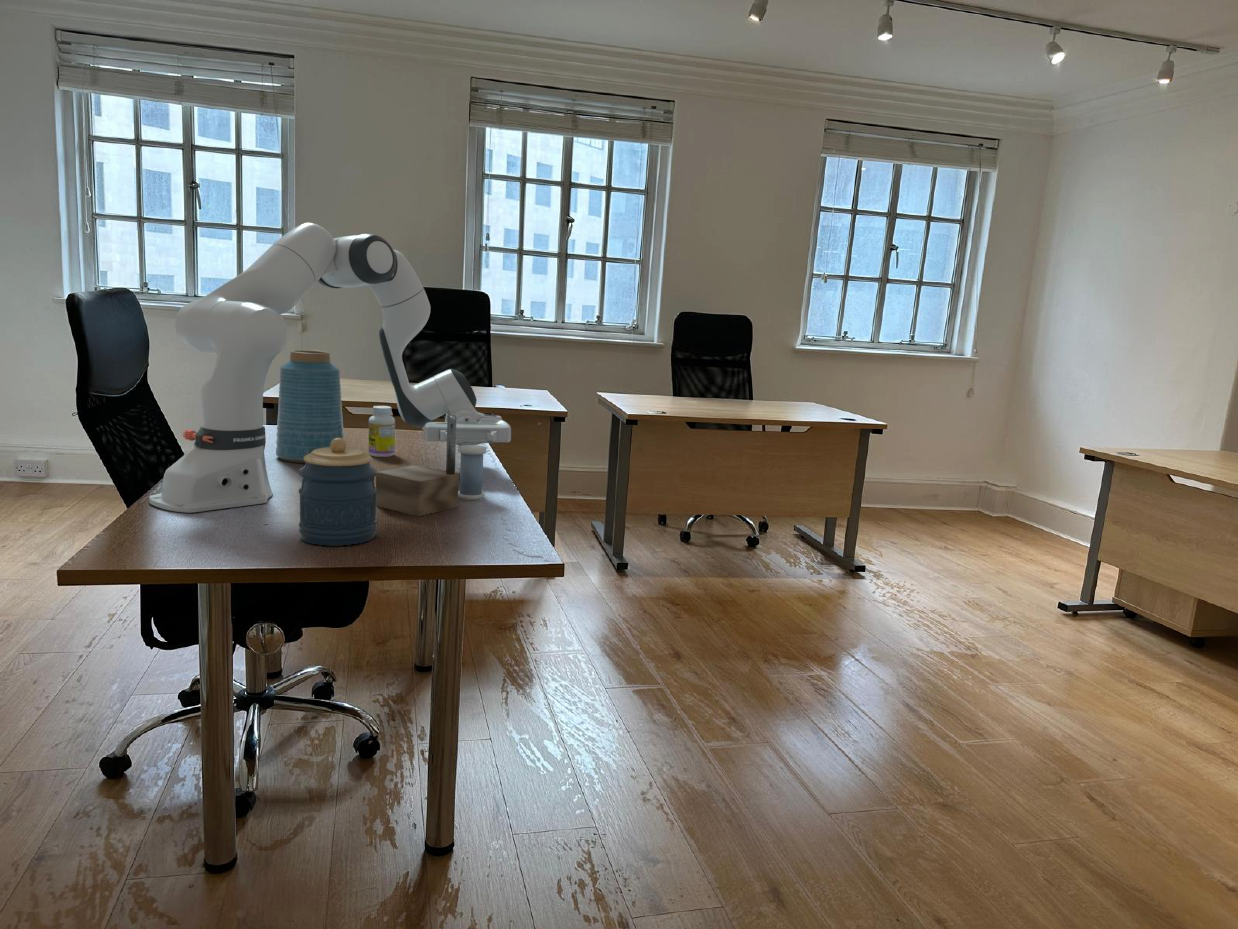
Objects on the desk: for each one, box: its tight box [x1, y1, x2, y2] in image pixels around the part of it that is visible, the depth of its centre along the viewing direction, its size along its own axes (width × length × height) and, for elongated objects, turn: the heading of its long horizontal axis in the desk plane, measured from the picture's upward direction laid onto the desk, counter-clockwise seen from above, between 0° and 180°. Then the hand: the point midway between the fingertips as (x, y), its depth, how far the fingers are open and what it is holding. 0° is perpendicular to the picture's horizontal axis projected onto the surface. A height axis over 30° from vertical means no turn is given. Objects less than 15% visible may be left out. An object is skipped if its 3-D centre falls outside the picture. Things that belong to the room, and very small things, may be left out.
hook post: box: [445, 415, 457, 475], centre depth 169 cm, size 2×6×12 cm, turn 14°
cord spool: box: [457, 444, 487, 501], centre depth 182 cm, size 6×6×11 cm
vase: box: [275, 349, 345, 464], centre depth 210 cm, size 16×16×27 cm
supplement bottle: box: [368, 405, 396, 458], centre depth 221 cm, size 7×7×13 cm
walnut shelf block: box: [375, 464, 460, 517], centre depth 172 cm, size 11×12×7 cm
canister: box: [297, 438, 378, 547], centre depth 147 cm, size 13×13×18 cm
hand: (469, 438), depth 192 cm, fingers open, 8 cm apart
